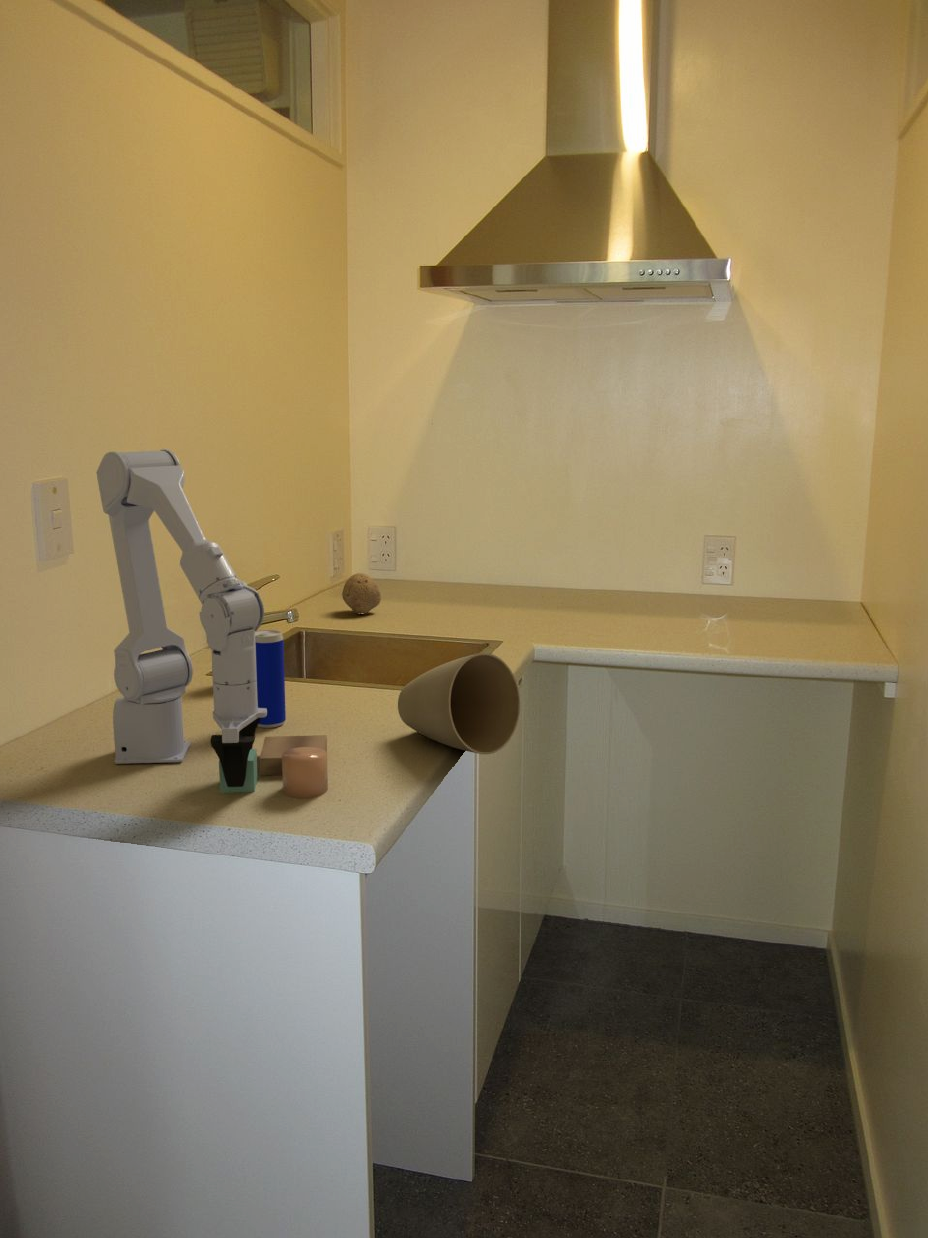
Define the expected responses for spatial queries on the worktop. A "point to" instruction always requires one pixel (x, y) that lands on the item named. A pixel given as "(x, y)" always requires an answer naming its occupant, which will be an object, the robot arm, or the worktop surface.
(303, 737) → the base
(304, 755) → the rounded knob
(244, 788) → the cube
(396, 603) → the worktop surface
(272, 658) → the beverage can
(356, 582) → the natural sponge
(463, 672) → the plant pot
